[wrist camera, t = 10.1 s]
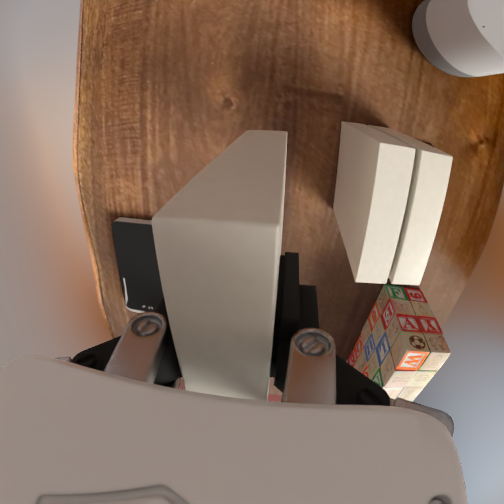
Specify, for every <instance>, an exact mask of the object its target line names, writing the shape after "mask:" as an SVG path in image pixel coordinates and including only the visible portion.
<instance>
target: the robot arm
mask: <svg viewBox="0 0 504 504" xmlns="http://www.w3.org/2000/svg"><path fill="white" fill-rule="evenodd" d="M180 377H182V373H181V370H180V366H179V362H178V358H177V354H176V349H175V345H174V341H173V337H172V332H171V328H170V323H169V319H168V314H167V309H166V304H165V299H164V296H163V298H162V300H161V302H160V304H159V305H158V307H157V309H156V311H155V312H143V313H140V314H138V315H135V316H134V317H133V318H131V320H130V321H129V322H128V324H127V326H126V328H125V330H124V332H123V334H122V336H119V337H117V338H114V339H112V340H110V341H107V342H104V343H102V344H99V345H97V346H95V347H92V348H89V349H87V350H84V351H82V352H80V353H78V354H77V355H76V356H75V357H74V358H73V359H71V358H70V357H62V358H50V357H44V356H21V357H17V358H14V359H11V360H10V361H8V362H7V363H6V364H4V365H3V366H2V367H1V368H0V504H467V496H466V487H465V482H464V477H463V472H462V467H461V463H460V459H459V456H458V452H457V449H456V446H455V444H454V441H453V438H452V435H453V431H454V423H453V421H452V418H451V417H450V416H449V415H448V414H447V413H445V412H443V411H440V410H437V409H434V408H430V407H427V406H424V405H421V404H417V403H414V402H411V401H408V400H405V399H402V398H399V397H397V398H396V400H395V399H392V398H389V395H388V394H387V392H386V391H385V390H384V389H383V388H382V387H381V386H379V385H378V384H376V383H375V382H373V381H372V380H371V379H369V378H368V377H366V376H365V375H364V374H362V373H361V372H360V371H358V370H357V369H355V368H354V367H353V366H351V365H350V364H348V363H347V362H346V361H344V360H343V359H342V358H340V357H339V356H337V355H336V352H335V342H334V339H333V338H332V336H331V335H330V334H328V333H327V332H326V331H323V330H321V329H319V319H318V306H317V294H316V286H310V285H299V255H298V253H291V252H285V256H283V255H280V263H279V275H278V288H277V299H276V311H275V322H274V334H273V345H272V357H271V368H270V377H275V380H274V385H275V386H276V387H277V388H278V389H279V390H280V391H281V392H282V393H283V394H282V401H281V402H272V401H261V400H251V399H242V398H233V397H226V396H218V395H211V394H205V393H199V392H193V391H187V390H181V389H179V386H180V381H181V378H180Z"/></svg>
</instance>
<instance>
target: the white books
mask: <svg viewBox="0 0 504 504" xmlns="http://www.w3.org/2000/svg"><path fill="white" fill-rule="evenodd" d="M452 159H453V157H452V156H451V155H449V154H447V153H445V152H443V151H441V150H439V149H436V148H434V146H432V145H428V144H426V143H423V142H421V141H419V140H417V139H414V138H412V137H410V136H407V135H405V134H403V133H400V132H398V131H395V130H393V129H390V128H386V127H380V126H373V125H368V126H367V125H365V124H360V123H352V122H344V121H342V122H341V135H340V147H339V159H338V169H337V178H336V188H335V196H334V205H333V211H334V214H335V217H336V220H337V223H338V226H339V230H340V233H341V236H342V239H343V242H344V246H345V249H346V252H347V256H348V259H349V262H350V266H351V269H352V273H353V276H354V280H355V282H361V283H379V284H386V283H387V279H388V277H389V279H390V282H391V284H402V285H420V282H421V279H422V276H423V274H424V271H425V268H426V265H427V261H428V258H429V255H430V252H431V249H432V245H433V242H434V238H435V235H436V231H437V228H438V224H439V220H440V216H441V212H442V208H443V204H444V199H445V195H446V190H447V185H448V181H449V175H450V170H451V165H452Z"/></svg>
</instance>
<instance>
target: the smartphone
mask: <svg viewBox="0 0 504 504" xmlns="http://www.w3.org/2000/svg"><path fill="white" fill-rule="evenodd" d="M112 232H113V239H114V245H115V252H116V258H117V263H118V269H119V274H120V280H121V285H122V289H123V294H124V299H125V304H126V307H127V309H128V310H130V311H133V312H137V313H143V312H155V311H156V309H157V307H158V305H159V304H160V302H161V300H162V298H163V296H164V294H163V289H162V284H161V278H160V273H159V267H158V261H157V255H156V249H155V243H154V236H153V229H152V220H144V219H134V218H123V217H119V218H118V219H116V220H115V221H114V222H113V223H112Z"/></svg>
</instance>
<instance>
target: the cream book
mask: <svg viewBox="0 0 504 504" xmlns="http://www.w3.org/2000/svg"><path fill="white" fill-rule="evenodd" d="M286 152H287V132H286V131H269V130H247V131H246V132H244V133H243V134H242V135H241V136H240V137H238V138H237V139H236V140H235V141H234V142H233V143H231V144H230V145H229V146H228V147H227V148H226V149H225V150H223V151H222V152H221V153H220V154H219V155H218V156H217V157H215V158H214V159H213V160H212V161H211V162H210V163H209V164H208V165H206V166H205V167H204V168H203V169H202V170H201V171H200V172H199V173H198V174H197V175H196V176H194V177H193V178H192V179H191V180H190V181H189V182H188V183H187V184H186V185H185V186H184V187H183V188H182V189H181V190H180V191H179V192H178V193H176V194H175V195H174V196H173V197H172V198H171V199H170V200H169V201H168V202H167V203H166V204H165V205H164V206H163V207H162V208H161V209H160V210H159V211H158V212H157V213H156V214H155V215H154V216H153V217H152V229H153V236H154V243H155V249H156V255H157V261H158V267H159V273H160V278H161V284H162V289H163V294H164V299H165V304H166V309H167V314H168V319H169V323H170V328H171V332H172V337H173V341H174V345H175V349H176V354H177V358H178V362H179V366H180V370H181V373H182V377H183V381H184V385H185V388H186V390H187V391H193V392H199V393H205V394H211V395H218V396H226V397H233V398H242V399H251V400H261V401H267V400H268V391H269V382H270V368H271V357H272V345H273V334H274V322H275V311H276V299H277V288H278V275H279V263H280V255H281V242H282V227H283V210H284V193H285V173H286Z"/></svg>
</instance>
